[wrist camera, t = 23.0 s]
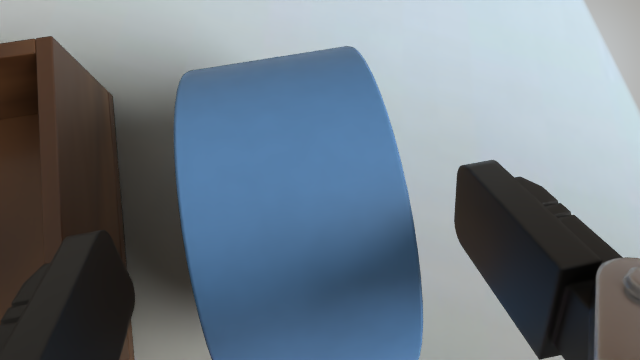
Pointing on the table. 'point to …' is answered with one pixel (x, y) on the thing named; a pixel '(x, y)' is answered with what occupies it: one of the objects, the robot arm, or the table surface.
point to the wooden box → (53, 161)
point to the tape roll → (296, 211)
